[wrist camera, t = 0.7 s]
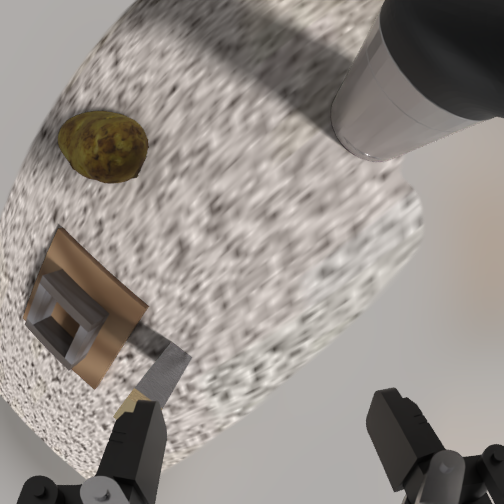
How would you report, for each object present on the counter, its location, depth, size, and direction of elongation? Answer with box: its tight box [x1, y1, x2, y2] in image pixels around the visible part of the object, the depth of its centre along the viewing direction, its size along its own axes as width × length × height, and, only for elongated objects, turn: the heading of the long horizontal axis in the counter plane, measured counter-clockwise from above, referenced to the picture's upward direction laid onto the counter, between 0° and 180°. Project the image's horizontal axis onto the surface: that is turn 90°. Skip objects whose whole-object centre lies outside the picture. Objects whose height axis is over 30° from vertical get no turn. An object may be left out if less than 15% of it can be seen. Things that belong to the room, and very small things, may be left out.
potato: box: [58, 111, 149, 183], centre depth 27 cm, size 8×13×8 cm, turn 46°
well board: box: [23, 228, 149, 390], centre depth 32 cm, size 16×15×5 cm
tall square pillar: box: [113, 342, 192, 419], centre depth 28 cm, size 4×3×12 cm
